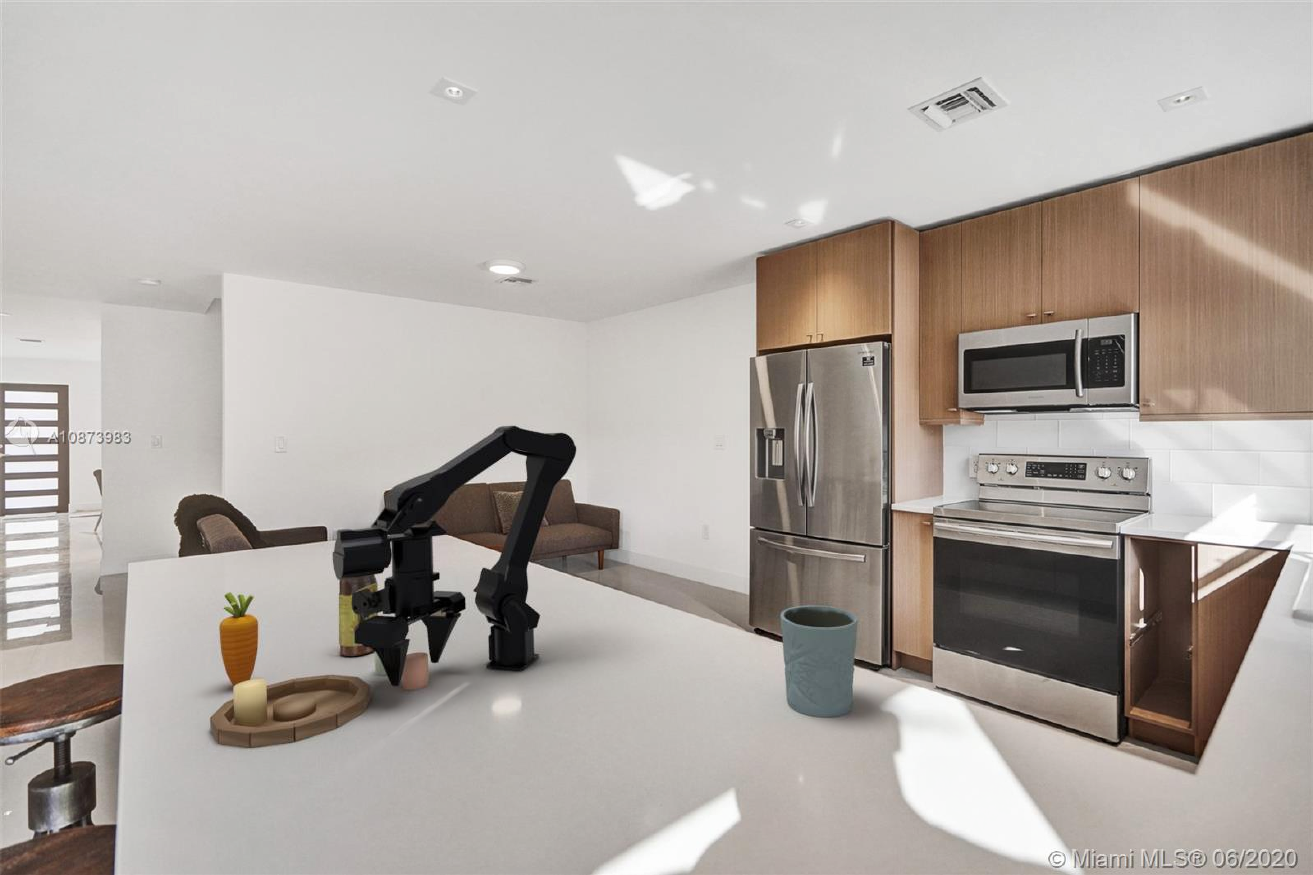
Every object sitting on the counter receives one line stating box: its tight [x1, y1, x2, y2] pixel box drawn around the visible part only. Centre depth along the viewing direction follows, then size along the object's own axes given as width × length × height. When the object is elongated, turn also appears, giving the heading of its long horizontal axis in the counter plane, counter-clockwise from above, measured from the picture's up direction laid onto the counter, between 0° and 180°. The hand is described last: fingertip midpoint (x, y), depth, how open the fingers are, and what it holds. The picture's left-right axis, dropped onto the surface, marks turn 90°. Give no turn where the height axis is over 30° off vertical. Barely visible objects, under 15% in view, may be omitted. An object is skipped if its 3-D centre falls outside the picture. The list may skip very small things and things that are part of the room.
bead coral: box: [401, 652, 430, 691], centre depth 94 cm, size 4×4×5 cm
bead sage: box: [374, 651, 387, 676], centre depth 100 cm, size 4×4×5 cm
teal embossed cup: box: [780, 604, 859, 718], centre depth 85 cm, size 10×10×12 cm
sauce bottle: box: [338, 574, 379, 657], centre depth 112 cm, size 7×6×20 cm
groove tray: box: [209, 674, 372, 748], centre depth 85 cm, size 18×18×2 cm
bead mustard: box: [232, 678, 267, 727], centre depth 83 cm, size 4×4×5 cm
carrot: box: [219, 591, 259, 687], centre depth 95 cm, size 5×5×15 cm
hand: (415, 673), depth 94 cm, fingers open, 9 cm apart
